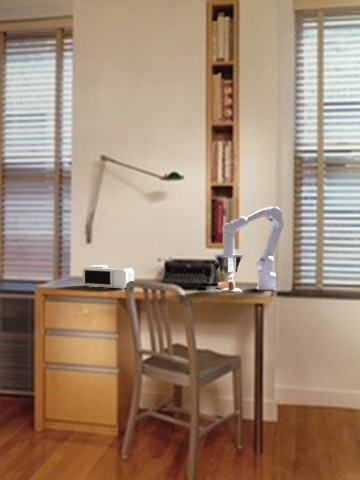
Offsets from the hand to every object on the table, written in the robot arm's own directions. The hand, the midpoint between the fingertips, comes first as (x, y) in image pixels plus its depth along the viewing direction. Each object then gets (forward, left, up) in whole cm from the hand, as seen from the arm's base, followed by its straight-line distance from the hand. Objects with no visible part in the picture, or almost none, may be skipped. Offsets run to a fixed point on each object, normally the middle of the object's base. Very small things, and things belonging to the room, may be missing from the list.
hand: (228, 271), depth 281 cm
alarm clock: (+65, -10, -10) cm, 67 cm away
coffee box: (+1, -26, -10) cm, 28 cm away
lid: (-1, +5, -10) cm, 11 cm away
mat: (-1, +5, -10) cm, 11 cm away
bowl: (+1, -7, -10) cm, 12 cm away
